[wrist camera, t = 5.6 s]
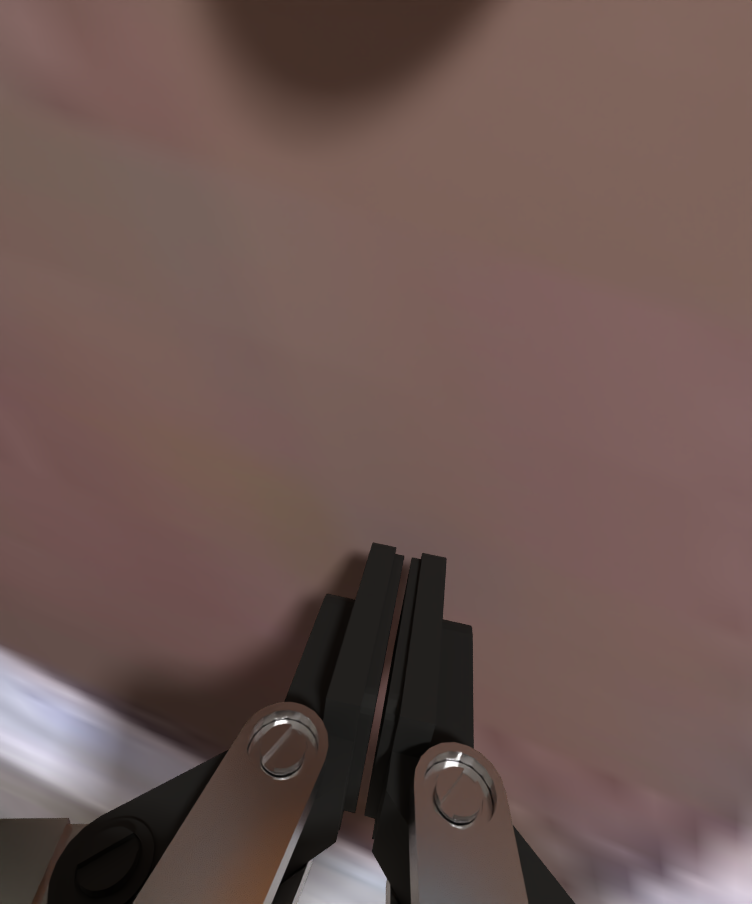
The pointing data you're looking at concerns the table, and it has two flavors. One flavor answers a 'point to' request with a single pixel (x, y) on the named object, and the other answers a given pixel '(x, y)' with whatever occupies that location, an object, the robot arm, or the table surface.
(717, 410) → the table surface
